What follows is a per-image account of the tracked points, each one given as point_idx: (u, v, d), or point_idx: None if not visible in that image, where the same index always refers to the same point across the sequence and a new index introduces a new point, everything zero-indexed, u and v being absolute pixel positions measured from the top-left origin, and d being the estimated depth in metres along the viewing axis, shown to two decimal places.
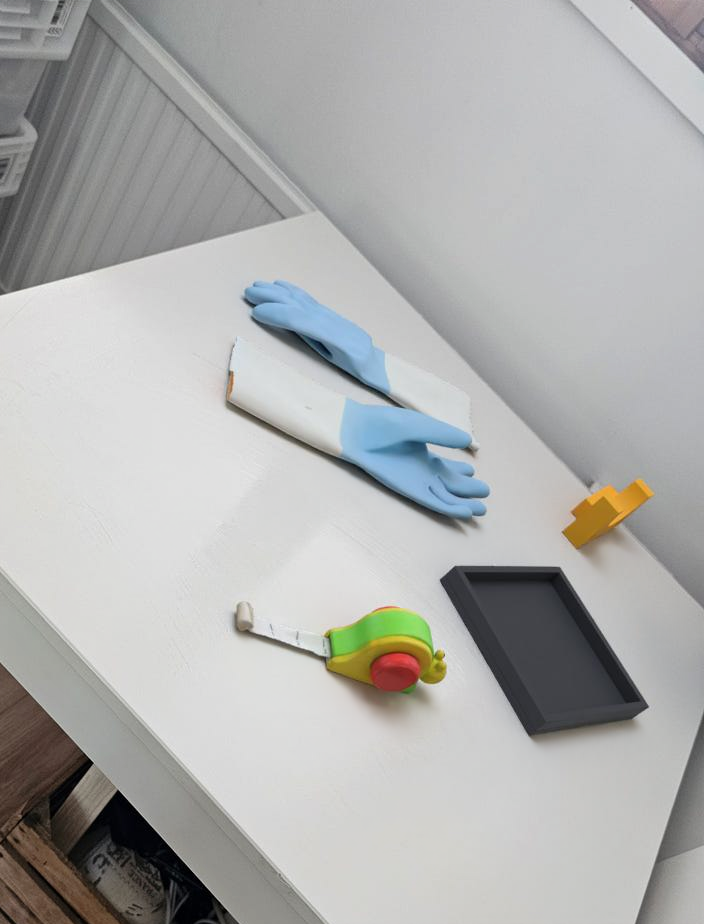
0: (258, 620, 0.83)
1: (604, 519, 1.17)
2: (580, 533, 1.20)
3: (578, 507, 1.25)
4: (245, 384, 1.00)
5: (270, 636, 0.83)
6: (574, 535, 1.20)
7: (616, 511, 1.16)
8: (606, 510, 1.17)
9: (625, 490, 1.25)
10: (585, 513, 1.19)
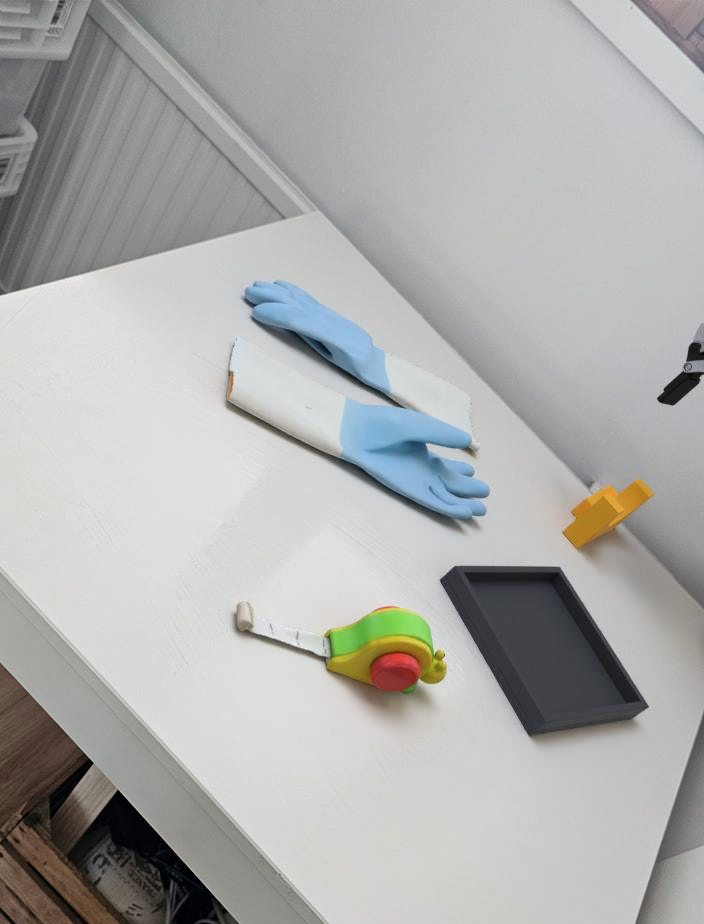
0: (258, 620, 0.83)
1: (605, 519, 1.17)
2: (580, 533, 1.20)
3: (578, 507, 1.25)
4: (245, 384, 1.00)
5: (270, 636, 0.83)
6: (574, 535, 1.20)
7: (616, 511, 1.16)
8: (606, 510, 1.17)
9: (625, 490, 1.25)
10: (585, 513, 1.19)
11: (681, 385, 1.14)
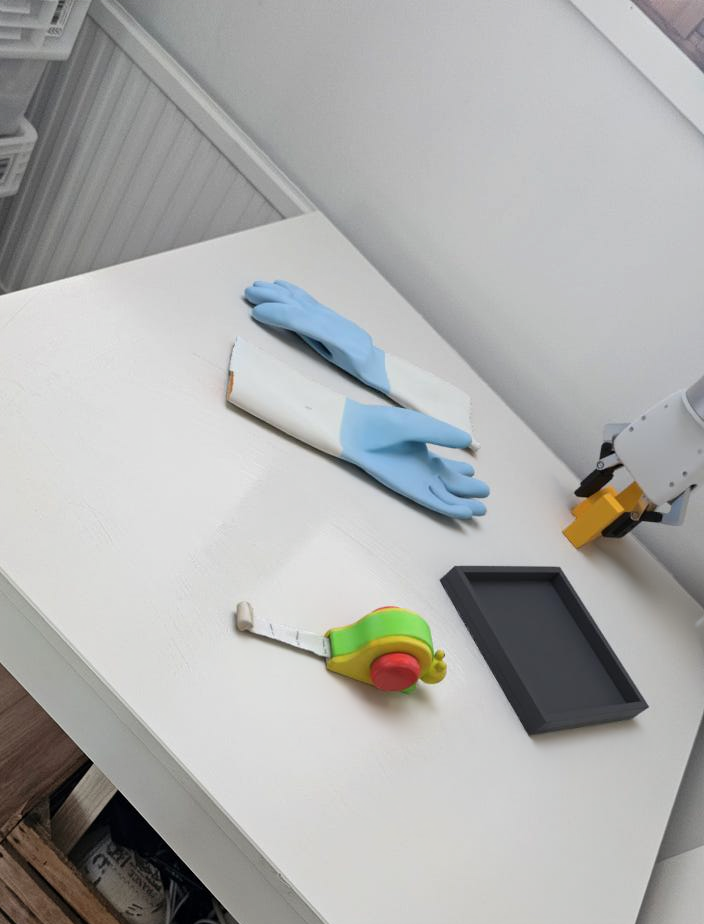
0: (258, 620, 0.83)
1: (604, 519, 1.17)
2: (580, 533, 1.20)
3: (578, 507, 1.25)
4: (245, 384, 1.00)
5: (270, 636, 0.83)
6: (574, 535, 1.20)
7: (616, 511, 1.16)
8: (606, 510, 1.17)
9: (625, 490, 1.25)
10: (585, 513, 1.19)
11: (595, 481, 1.23)
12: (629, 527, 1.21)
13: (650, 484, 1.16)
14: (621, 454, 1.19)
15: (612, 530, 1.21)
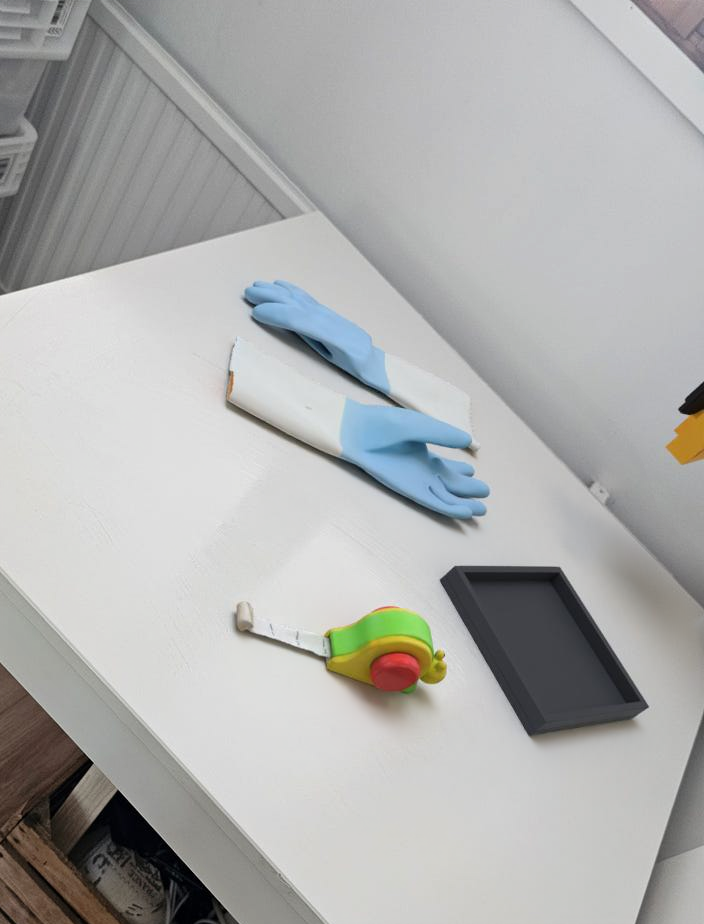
0: (258, 620, 0.83)
1: None
2: (686, 447, 1.08)
3: (682, 425, 1.13)
4: (245, 384, 1.00)
5: (270, 636, 0.83)
6: (679, 450, 1.08)
7: None
8: None
9: None
10: (693, 424, 1.07)
11: (703, 395, 1.10)
12: None
13: None
14: None
15: None
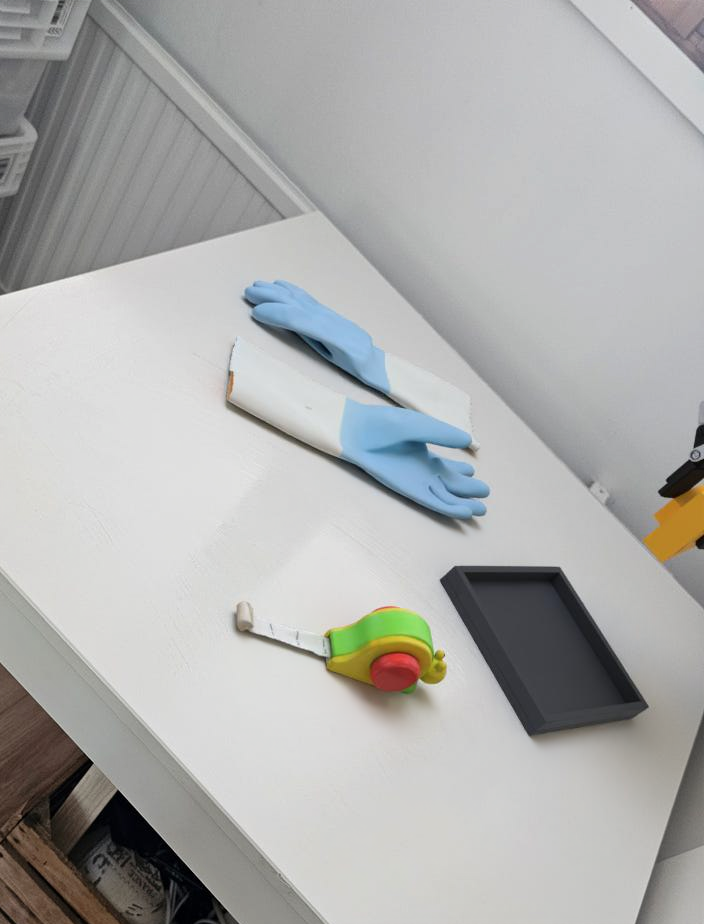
0: (258, 620, 0.83)
1: (702, 523, 0.87)
2: (667, 542, 0.90)
3: (662, 510, 0.95)
4: (245, 384, 1.00)
5: (270, 636, 0.83)
6: (658, 545, 0.90)
7: None
8: None
9: None
10: (675, 516, 0.89)
11: (687, 477, 0.92)
12: None
13: None
14: None
15: None
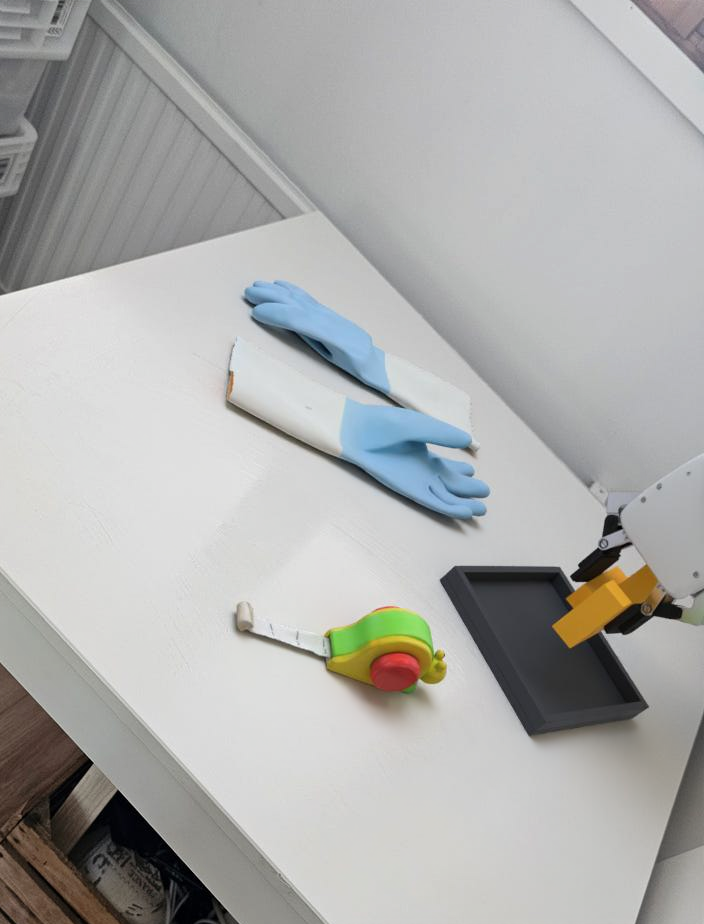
0: (258, 620, 0.83)
1: (605, 614, 0.91)
2: (574, 629, 0.94)
3: (575, 594, 0.99)
4: (245, 384, 1.00)
5: (270, 636, 0.83)
6: (567, 631, 0.94)
7: (620, 604, 0.90)
8: (607, 602, 0.91)
9: (635, 574, 0.99)
10: (581, 605, 0.93)
11: (596, 564, 0.96)
12: (639, 622, 0.95)
13: (668, 572, 0.90)
14: (630, 531, 0.93)
15: (617, 625, 0.95)
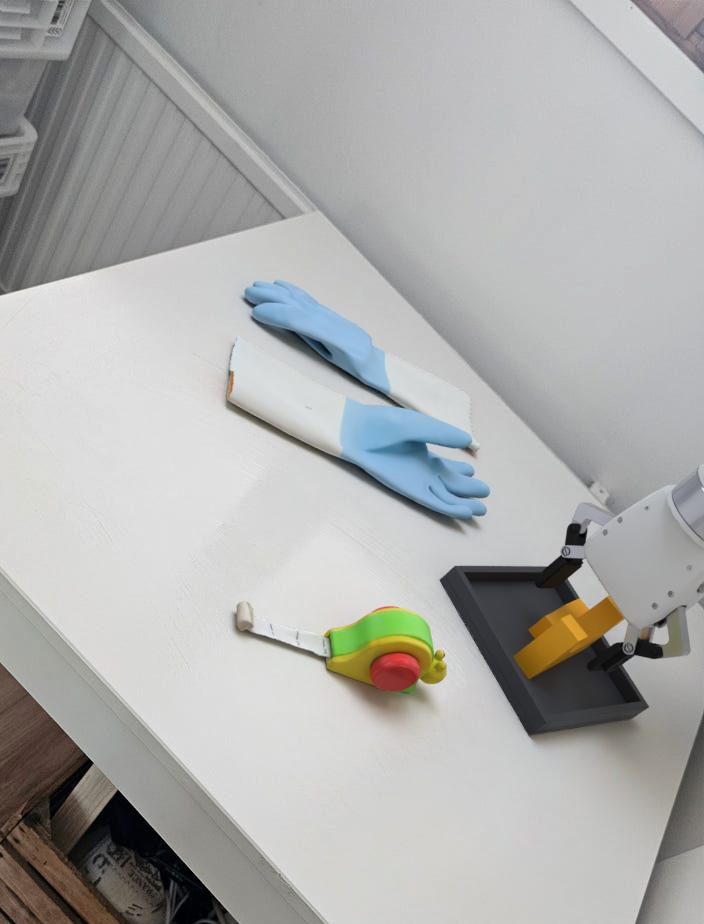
0: (258, 620, 0.83)
1: (562, 647, 0.95)
2: (533, 661, 0.97)
3: (536, 625, 1.02)
4: (245, 384, 1.00)
5: (270, 636, 0.83)
6: (526, 663, 0.98)
7: (576, 638, 0.94)
8: (564, 636, 0.94)
9: (595, 607, 1.02)
10: (540, 638, 0.96)
11: (559, 571, 1.00)
12: (622, 660, 0.96)
13: (628, 603, 0.93)
14: (593, 562, 0.96)
15: (600, 664, 0.97)
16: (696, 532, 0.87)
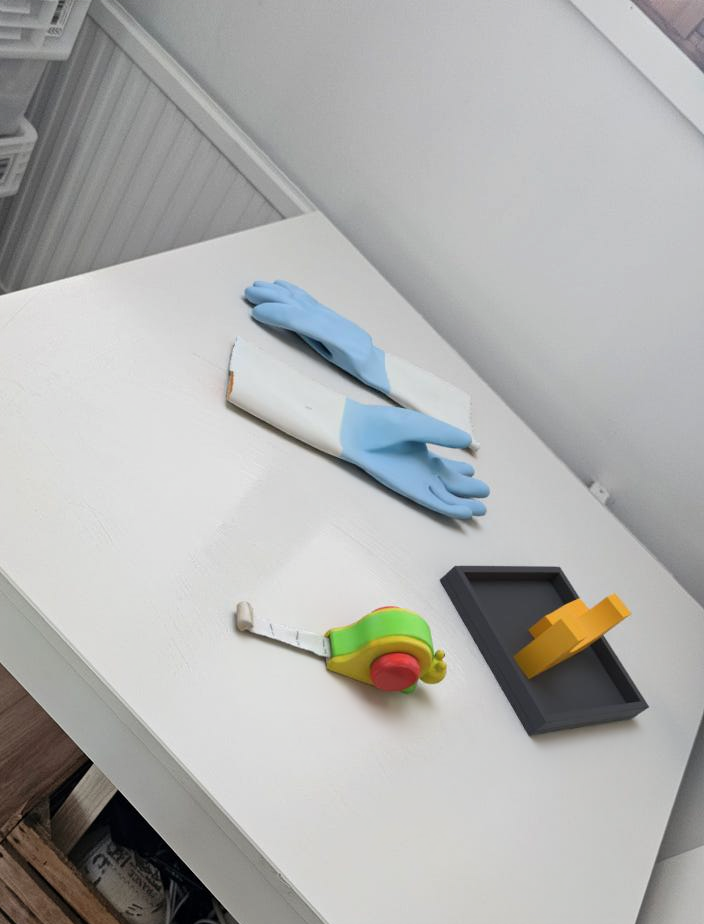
0: (258, 620, 0.83)
1: (562, 647, 0.95)
2: (533, 661, 0.97)
3: (536, 625, 1.02)
4: (245, 384, 1.00)
5: (270, 636, 0.83)
6: (526, 663, 0.98)
7: (576, 638, 0.94)
8: (564, 636, 0.94)
9: (595, 607, 1.02)
10: (540, 638, 0.96)
11: None
12: None
13: None
14: None
15: None
16: None
